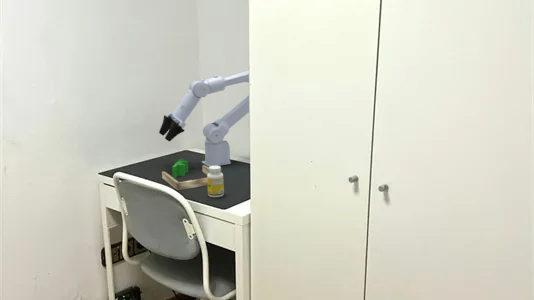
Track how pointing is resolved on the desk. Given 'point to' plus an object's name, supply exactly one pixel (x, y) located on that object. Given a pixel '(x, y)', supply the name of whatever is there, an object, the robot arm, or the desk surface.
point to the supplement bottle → (215, 182)
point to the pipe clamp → (180, 168)
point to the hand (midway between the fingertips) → (164, 137)
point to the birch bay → (186, 184)
